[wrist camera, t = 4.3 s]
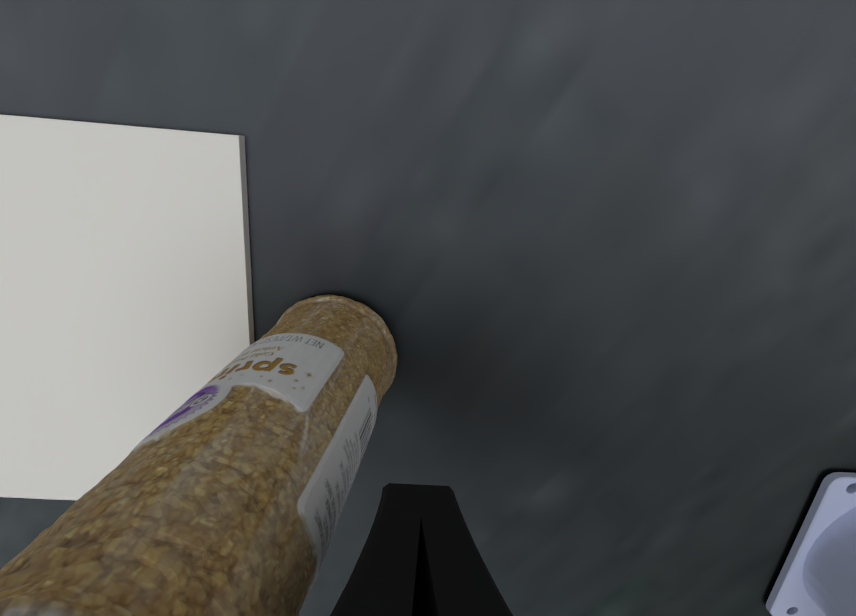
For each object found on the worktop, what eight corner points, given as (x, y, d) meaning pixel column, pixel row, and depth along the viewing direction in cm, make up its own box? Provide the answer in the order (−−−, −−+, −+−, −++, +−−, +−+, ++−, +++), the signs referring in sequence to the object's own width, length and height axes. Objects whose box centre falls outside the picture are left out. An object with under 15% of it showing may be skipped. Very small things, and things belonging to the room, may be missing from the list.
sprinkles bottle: (322, 264, 15) (-416, 813, 3) (427, 349, 16) (220, 1120, 3) (251, 355, 17) (-442, 988, 4) (349, 430, 17) (3, 1177, 5)
